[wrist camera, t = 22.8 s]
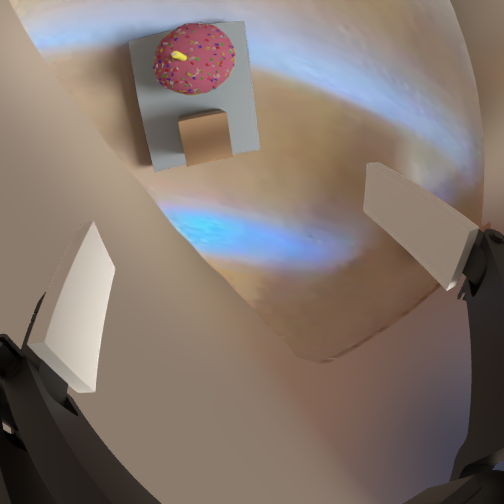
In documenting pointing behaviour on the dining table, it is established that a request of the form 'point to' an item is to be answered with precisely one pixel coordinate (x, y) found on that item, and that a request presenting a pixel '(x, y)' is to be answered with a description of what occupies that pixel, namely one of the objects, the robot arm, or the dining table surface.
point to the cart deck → (193, 100)
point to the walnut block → (205, 136)
